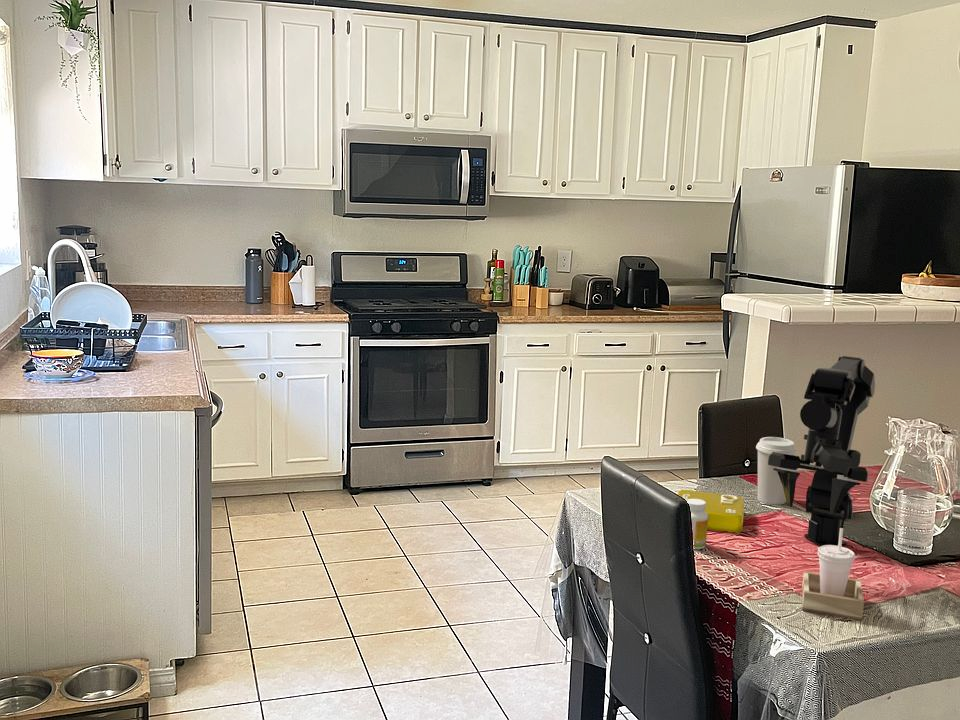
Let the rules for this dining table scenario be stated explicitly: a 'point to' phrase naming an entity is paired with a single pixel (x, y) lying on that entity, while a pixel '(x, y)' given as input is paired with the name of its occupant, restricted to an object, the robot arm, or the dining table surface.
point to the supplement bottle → (698, 522)
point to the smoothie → (834, 567)
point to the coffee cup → (771, 469)
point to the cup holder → (832, 598)
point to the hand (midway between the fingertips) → (811, 510)
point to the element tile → (720, 509)
